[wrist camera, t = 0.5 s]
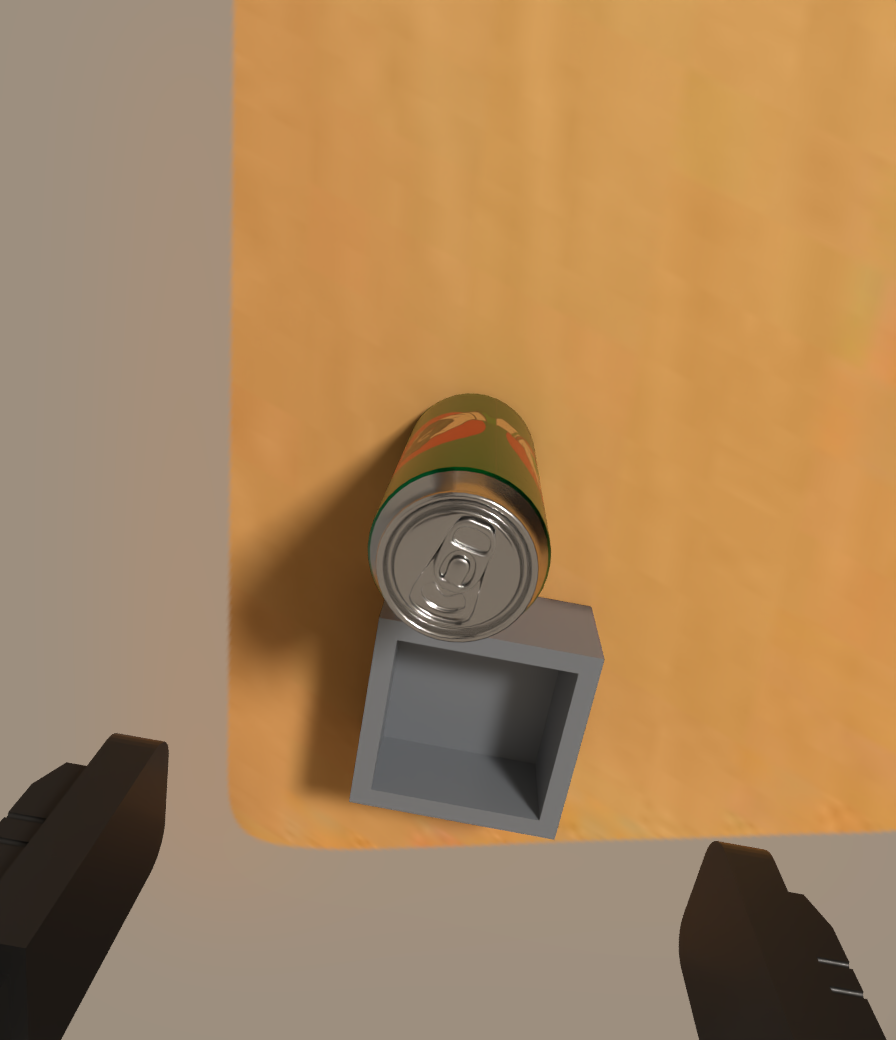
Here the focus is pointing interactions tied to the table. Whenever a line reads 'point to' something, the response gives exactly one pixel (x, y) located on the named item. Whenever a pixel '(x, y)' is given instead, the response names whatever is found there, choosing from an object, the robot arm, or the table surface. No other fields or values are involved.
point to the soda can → (462, 523)
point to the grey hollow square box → (479, 719)
